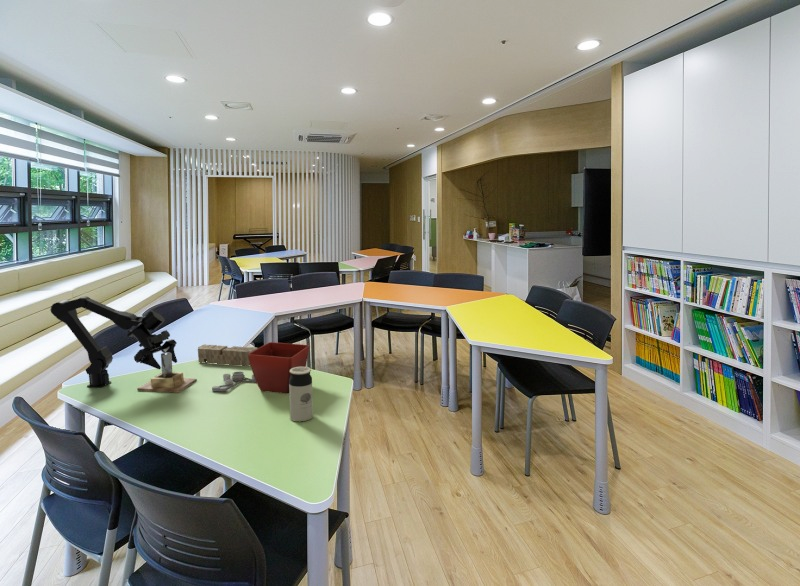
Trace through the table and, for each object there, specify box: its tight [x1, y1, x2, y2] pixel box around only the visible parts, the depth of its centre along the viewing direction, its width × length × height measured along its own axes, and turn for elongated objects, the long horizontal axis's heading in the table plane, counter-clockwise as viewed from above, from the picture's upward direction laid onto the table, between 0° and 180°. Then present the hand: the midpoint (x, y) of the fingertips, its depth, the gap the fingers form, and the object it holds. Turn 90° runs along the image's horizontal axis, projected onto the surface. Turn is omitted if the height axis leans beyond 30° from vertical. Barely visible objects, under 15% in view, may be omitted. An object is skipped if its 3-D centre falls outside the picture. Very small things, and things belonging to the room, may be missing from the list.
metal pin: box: [160, 352, 173, 378], centre depth 198 cm, size 4×4×13 cm
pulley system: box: [211, 371, 257, 392], centre depth 204 cm, size 27×5×15 cm
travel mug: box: [289, 366, 314, 423], centre depth 168 cm, size 8×8×18 cm
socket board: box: [136, 371, 198, 393], centre depth 199 cm, size 18×14×4 cm
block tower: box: [197, 343, 259, 367], centre depth 231 cm, size 8×8×29 cm
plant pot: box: [248, 341, 310, 395], centre depth 197 cm, size 19×19×17 cm
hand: (168, 365), depth 198 cm, fingers open, 9 cm apart
